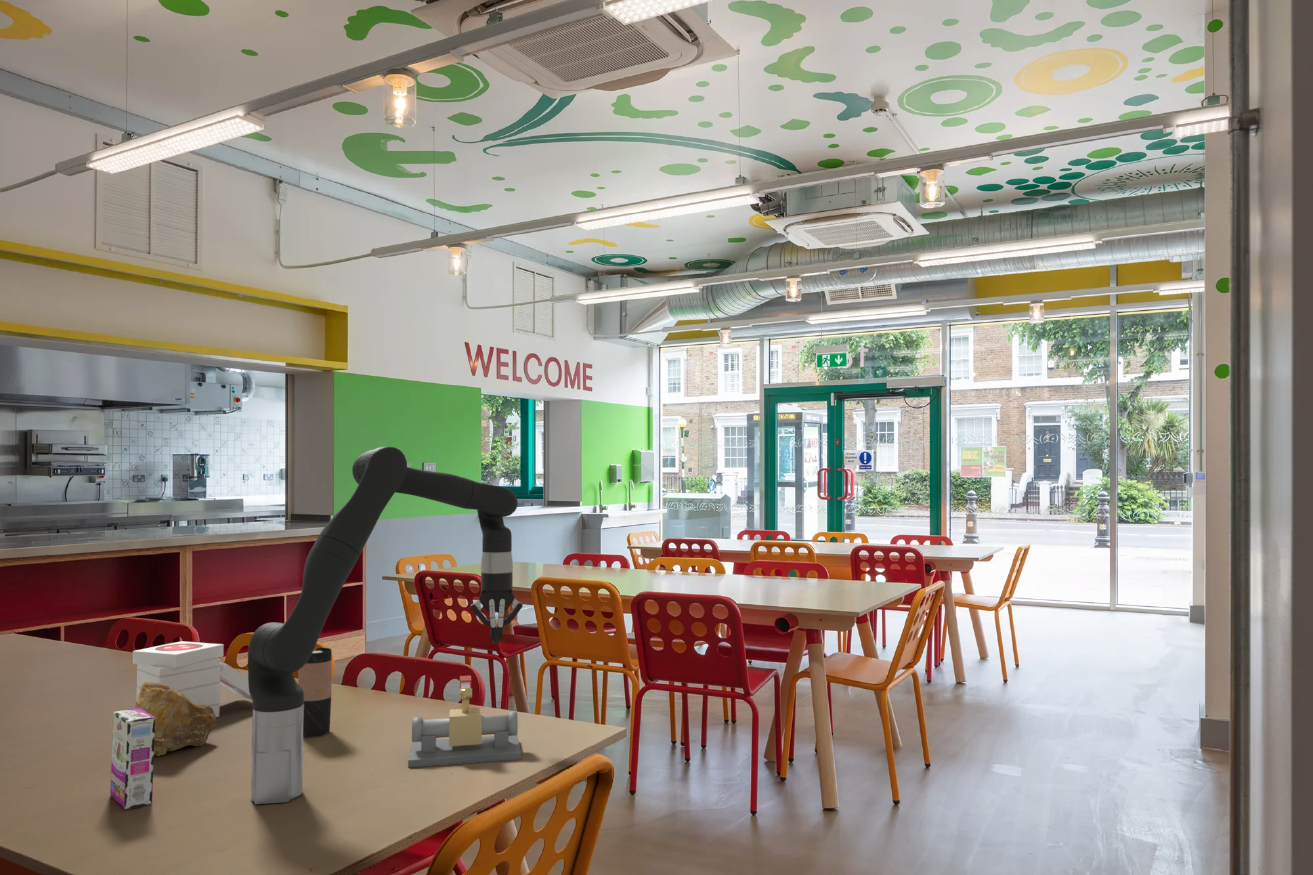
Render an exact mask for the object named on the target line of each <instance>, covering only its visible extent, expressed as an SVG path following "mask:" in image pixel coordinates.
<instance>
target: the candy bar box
mask: <svg viewBox="0 0 1313 875" xmlns="http://www.w3.org/2000/svg"><path fill="white" fill-rule="evenodd" d="M112 715H113V716H112V717H113V718H112V742H111V763H110V764H111V767H110V768H111V769H110V770H111V771H110V788H109V789H110V792H109V794H110V795H109V796H110V797H111V798H112V797H113V798H112V799H113V800H114V799H115V800H114V801H115V802H116V801H117V802H118V803H117V802H116V803H117V804H118V805H120V806H121V808H122V809H124V810H127V811H128V810H131V809H135V808H140V807H144V806H145V805H146V806H148V805H152V804H153V789H154V788H153V785H154V760H155V759H154V756H155V754H154V740H155V717H153V716H152V715H150V714H148V713H147V712H145V711H144V710H142V709H140V708H135V707H134V708H128V709H122V710H117V711H113V714H112Z"/></svg>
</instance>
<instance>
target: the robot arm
mask: <svg viewBox="0 0 1313 875" xmlns="http://www.w3.org/2000/svg"><path fill="white" fill-rule="evenodd" d="M352 464H353V465H352V471H351V472H352V476H353V479H354V480H355V482H356V483H357V487H356V489H355V490H354V493H352V496H351V497H350V498H349V499H348V501H347V502H346V503H345V504H344V505H343V506H342V507H341V508H340V510H338V512H336V514H334V515H333V517H332V518H331V519H330V520H329V522H327V523H326V525H325V526H324V527H323V529H322V530H321V531H320V533H319V535H318V536H317V538H316V540H315V541H314V543H313V546H312V547H311V549H310V550H309V552H308V555H307V557H306V558H305V563H304V568H303V577H302V588H301V592H300V595H299V598H298V600H297V603H296V605H295V606H294V608H293V610H292V611H291V613H290V615H289V616H288V618H287V619H286V621H285V622H284V623H283V622H277V621H276V622H267V623H264V624H262V625H261V626H259V627H258V628H257V629H256V630H255V631H254V632H253V634H252V635H251V638H250V640H249V644H248V649H247V650H248V651H247V678H248V685H249V692H250V695H251V698H252V700H251V701H252V719H251V720H252V722H251V723H252V725H251V726H252V727H251V766H250V767H251V770H250V772H251V773H250V775H251V776H250V779H251V781H250V800H251V801H252V802H254V805H263V804H264V805H267V804H278V803H279V804H280V803H289V802H290V801H292V800H293V799H295V798H297V797H299V796H301V795H302V793H303V774H304V773H303V772H304V771H303V769H304V768H303V766H304V765H303V764H304V763H303V759H304V753H303V752H304V737H303V717H304V692H303V690H302V688H301V687H300V686H299V685H298V681H296V679H295V677H294V673H296V672H299V669H301V668H302V667H303V666H304V665H305V664H306V663H307V661H308V660H309V658H310V656H311V654H312V652H313V650H315V648H316V646H317V643H318V641H319V638H320V635H321V633H322V631H323V628H324V626H325V624H326V621H327V620H328V616H329V614H330V613H331V610H332V608H333V606H334V604H335V603H336V600H337V599H338V597H339V595H340V593H341V591H342V589H343V587H344V585H345V583H346V581H347V579H348V578H349V577H350V574H351V572H352V571H353V569H354V567H355V565H356V564H357V561H358V560H359V558H360V556H361V554H362V552H363V550H364V547H365V545H366V543H368V540H369V538H370V536H371V535H372V532H373V531H374V529H375V527H376V524H377V522H378V521H379V519H380V516H381V515H382V513H383V511H384V510H385V508H386V507H387V505H388V503H389V502H390V501H391V499H392V498H393V496H394V494H403V495H410V496H415V497H419V498H423V499H426V500H431V501H434V502H438V503H441V504H445V505H449V506H454V507H457V508H461V509H465V510H477V511H476V512H477V517H478V522H479V525H480V526H479V527H480V530H481V534H482V542H481V543H482V550H481V551H482V552H481V561H480V564H481V565H480V594H479V596H478V600H476V601H475V602H474V603H471V604H470V609H471V611H472V612H473V614H475V616H476V617H477V618H478V619H479V621H480V622H481V623H482V624H483V625H484V626H486V627H489V628H490V637H489V638H490V640H491V641H492V642H493V644H500V642H501V641H503V636H504V635H503V630H504V629H503V628H504V626H507V625H509V624H511V623H512V621H513V619H514V618H515V617H516V616H517V615H518V613H519V612H520V611H521V610H522V608H524V606H523V602H521V601H518V600H517V599H516V597H515V594H514V592H513V585H514V584H513V582H514V581H513V580H514V579H513V576H514V575H513V571H514V569H513V568H514V567H513V566H514V565H513V562H514V561H513V555H512V554H513V551H512V550H513V549H512V544H513V543H512V539H513V538H512V537H513V536H512V531H511V529H510V528H509V527H507V526H506V525H505V522H504V518H506V517H510V516H511V515H513V514H514V513H515V512H516V510H517V508H518V505H519V504H518V503H519V502H518V498H517V495H516V494H515V493H514V491H513V490H510V488H506V487H503V486H498V485H493V484H489V483H481V482H477V481H475V480H472V479H470V478H466V477H463V476H460V475H456V474H451V473H446V472H441V471H439V472H438V471H430V470H425V469H418V468H414V467H410V466H408V463H407V458H406V455H405V454H404V453H403V451H402V450H401V449H399V448H397V447H394V446H380V447H377V448H374V449H371V450H367V451H365V452H363V453H362V454H360V455H358V456H357V458H356V459H355V461H354V462H353V463H352ZM481 605H482V606H481ZM511 605H512V606H511ZM510 606H511V607H512V610H511V611H510V612H509V614H508V615H507V616H506V617H505V618H504V615H505V612H506V611H508V609H509V607H510ZM482 607H483V608H484V609H485V611H486V612H487V613H489V619H488V618H487V617H486V616H485V615H484V613H483V612H482V611H481V610H482ZM496 613H498V614H497V620H496Z"/></svg>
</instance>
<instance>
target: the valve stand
mask: <svg viewBox="0 0 1313 875" xmlns="http://www.w3.org/2000/svg"><path fill="white" fill-rule="evenodd" d="M411 722H412V723H411V728H412V729H411V743H410V747H409V748H410V749H409V755H408V759H407V768H420V767H431V766H432V767H433V766H445V765H446V766H447V765H460V764H461V765H462V764H463V765H464V764H476V763H487V762H488V763H491V762H503V761H506V762H507V761H516V760H518V761H519V760H522V751H521V747H520V741H519V736H518V728H519V724H518V722H519V720H518V711H508V712H507V714H502V715H501V714H500V715H484V716H482V707H475V708H474V707H473V708H470V698H469V699H461V708H456V709H449V718H434V719H432V718H431V719H423V717H422V716H421V717H420V716H419V717H417V716H416V717H412V721H411ZM487 735H488V736H487ZM489 735H491V736H489ZM492 735H493V736H492ZM439 738H443V739H439ZM444 738H447V739H444Z"/></svg>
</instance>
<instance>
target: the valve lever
mask: <svg viewBox="0 0 1313 875" xmlns="http://www.w3.org/2000/svg"><path fill="white" fill-rule="evenodd" d="M458 695H459V699H461V700H462V699H469V700H470V699H472V698H473V688H472V676H471V675H459V694H458Z"/></svg>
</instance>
